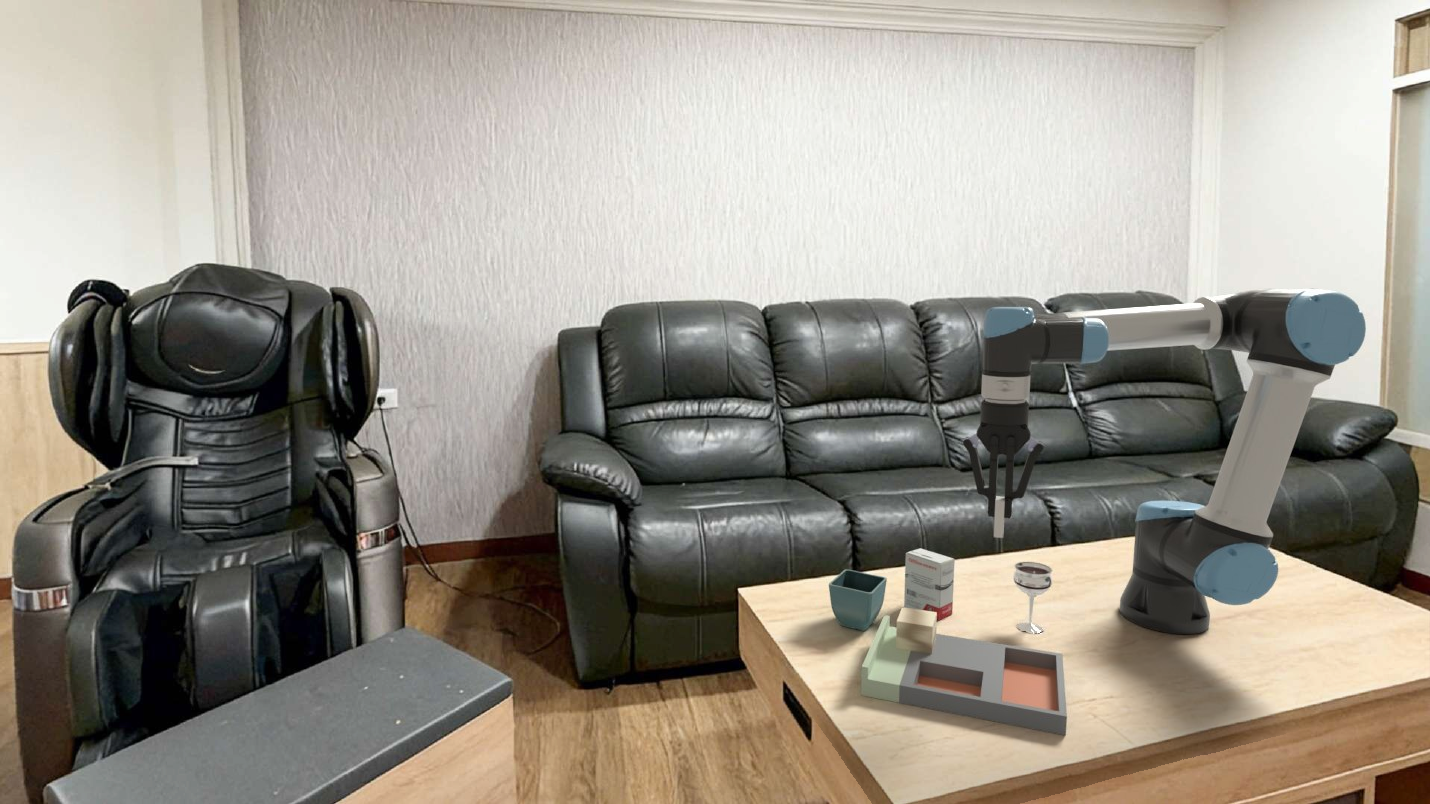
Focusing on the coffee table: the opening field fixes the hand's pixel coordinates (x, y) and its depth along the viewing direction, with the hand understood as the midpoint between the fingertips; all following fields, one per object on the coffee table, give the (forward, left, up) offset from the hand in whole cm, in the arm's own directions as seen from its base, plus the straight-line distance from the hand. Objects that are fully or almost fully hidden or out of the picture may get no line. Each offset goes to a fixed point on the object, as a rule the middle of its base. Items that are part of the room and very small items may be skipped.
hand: (998, 535), depth 130 cm
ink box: (+13, -15, -23) cm, 30 cm away
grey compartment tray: (+4, +11, -22) cm, 25 cm away
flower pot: (+25, -4, -23) cm, 34 cm away
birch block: (+13, +6, -19) cm, 24 cm away
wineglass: (-6, -14, -23) cm, 27 cm away
